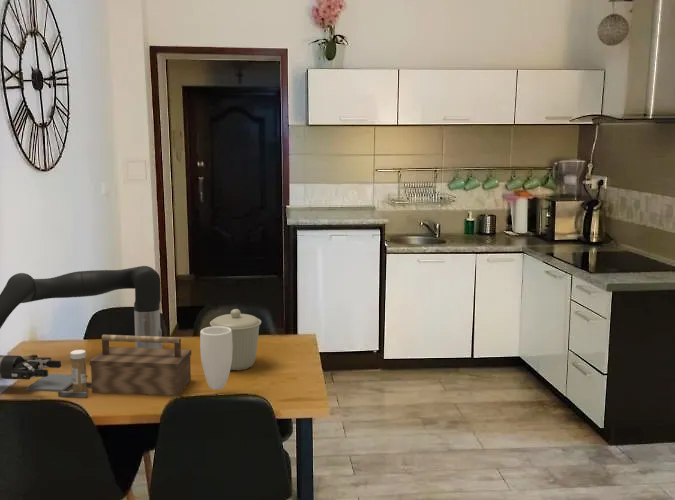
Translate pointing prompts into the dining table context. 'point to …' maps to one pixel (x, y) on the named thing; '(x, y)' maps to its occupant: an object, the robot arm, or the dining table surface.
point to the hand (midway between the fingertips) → (54, 368)
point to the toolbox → (137, 368)
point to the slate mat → (52, 382)
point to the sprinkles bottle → (78, 370)
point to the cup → (216, 355)
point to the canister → (241, 337)
